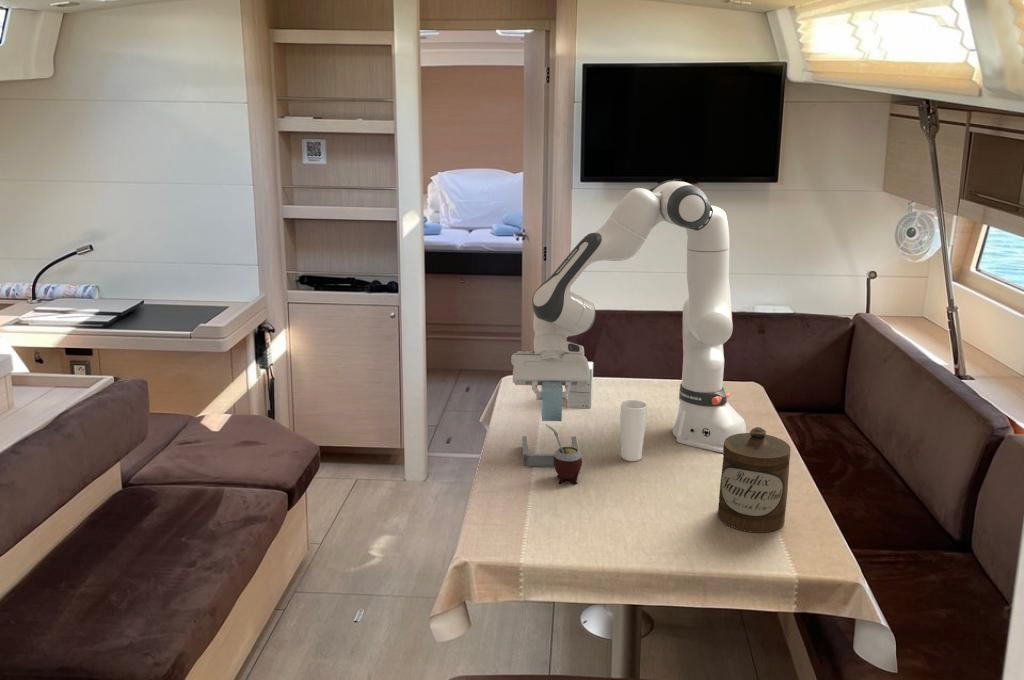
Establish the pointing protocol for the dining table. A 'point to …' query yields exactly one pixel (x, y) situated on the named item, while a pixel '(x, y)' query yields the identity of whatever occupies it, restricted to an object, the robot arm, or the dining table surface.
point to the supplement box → (581, 393)
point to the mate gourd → (566, 462)
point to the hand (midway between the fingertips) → (551, 399)
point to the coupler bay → (541, 455)
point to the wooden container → (754, 481)
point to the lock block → (551, 400)
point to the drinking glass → (632, 429)
